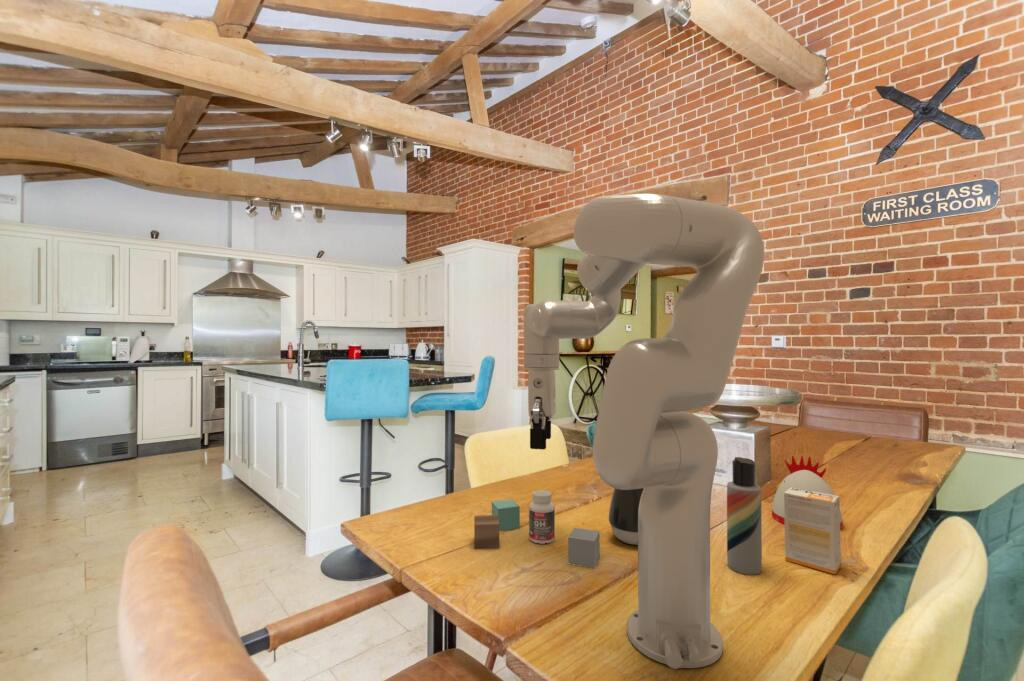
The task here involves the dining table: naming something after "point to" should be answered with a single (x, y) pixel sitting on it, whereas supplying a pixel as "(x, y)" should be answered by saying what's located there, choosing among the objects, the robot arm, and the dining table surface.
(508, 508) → the teal block
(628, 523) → the pump dispenser
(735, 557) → the lotion bottle
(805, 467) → the kitchen timer
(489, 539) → the walnut block
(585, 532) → the slate-grey block
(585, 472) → the dining table surface
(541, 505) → the pill bottle
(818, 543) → the supplement box
